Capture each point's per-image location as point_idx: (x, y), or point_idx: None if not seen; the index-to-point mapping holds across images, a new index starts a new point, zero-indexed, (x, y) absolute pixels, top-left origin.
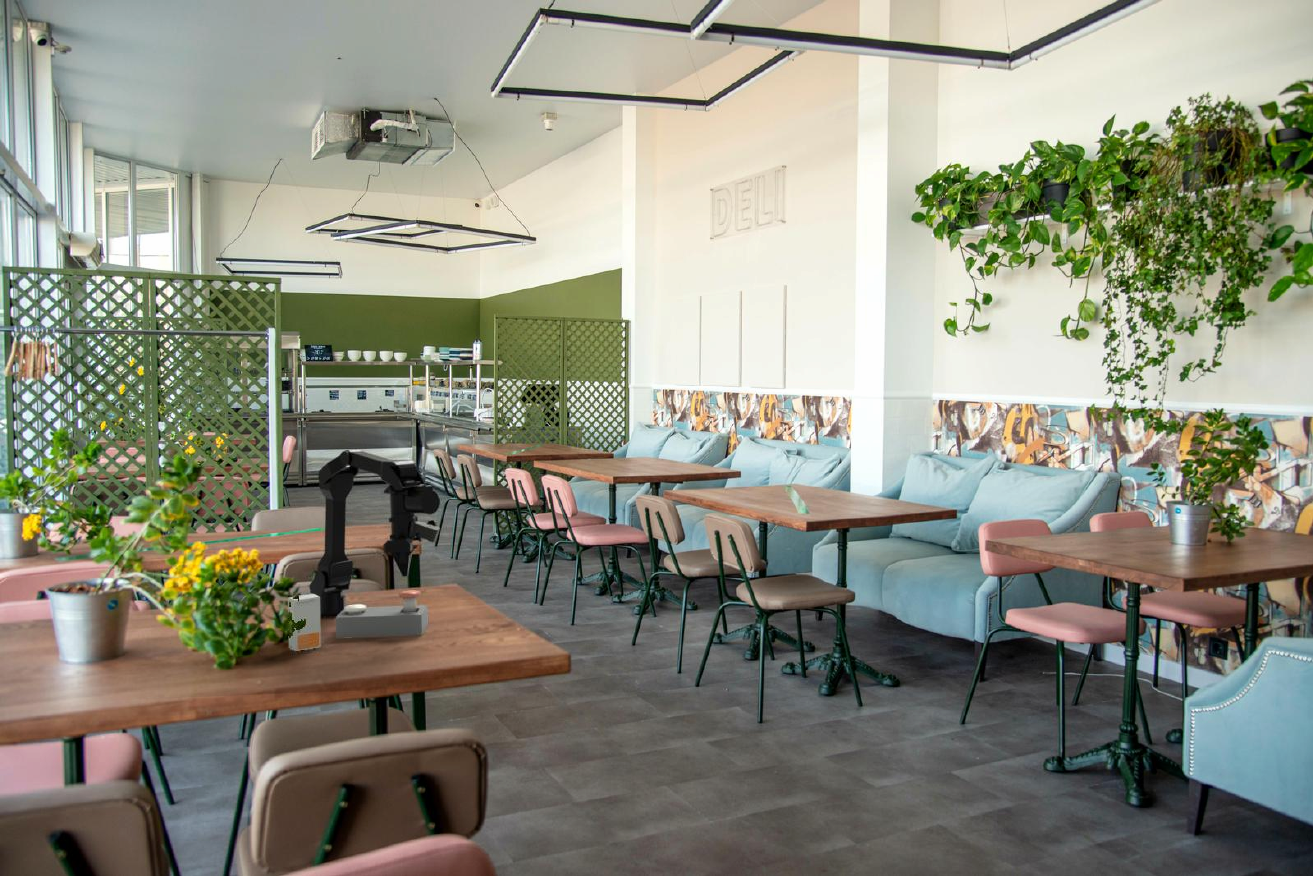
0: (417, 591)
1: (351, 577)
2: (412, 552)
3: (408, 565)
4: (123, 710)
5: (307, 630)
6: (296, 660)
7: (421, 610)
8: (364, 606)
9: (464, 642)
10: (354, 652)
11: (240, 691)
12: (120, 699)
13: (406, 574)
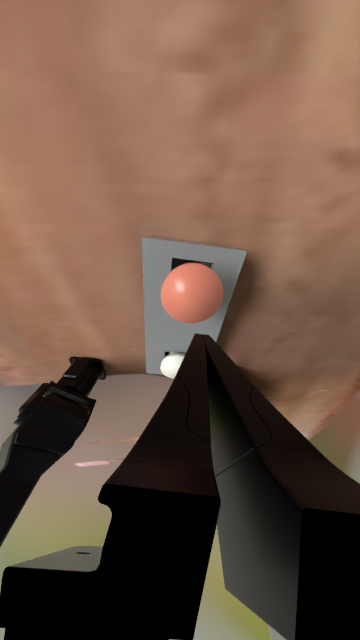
0: (184, 273)
1: (42, 399)
2: (201, 480)
3: (236, 371)
4: (323, 427)
5: None
6: (272, 376)
7: (200, 252)
8: (178, 359)
9: (357, 116)
10: (276, 336)
11: (339, 396)
12: (298, 430)
13: (211, 341)
